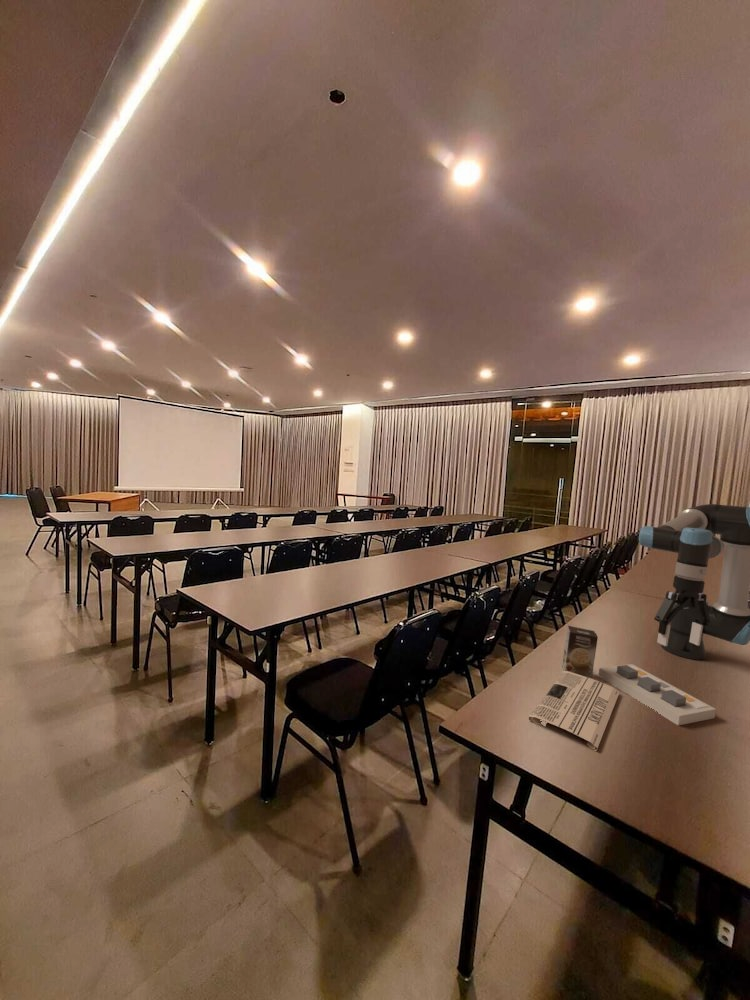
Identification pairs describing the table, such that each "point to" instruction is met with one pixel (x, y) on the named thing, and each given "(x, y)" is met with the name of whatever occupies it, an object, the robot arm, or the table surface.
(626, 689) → the button board
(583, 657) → the coffee box
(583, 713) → the newspaper
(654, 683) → the middle button
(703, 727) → the table surface
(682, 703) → the button
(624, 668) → the button
